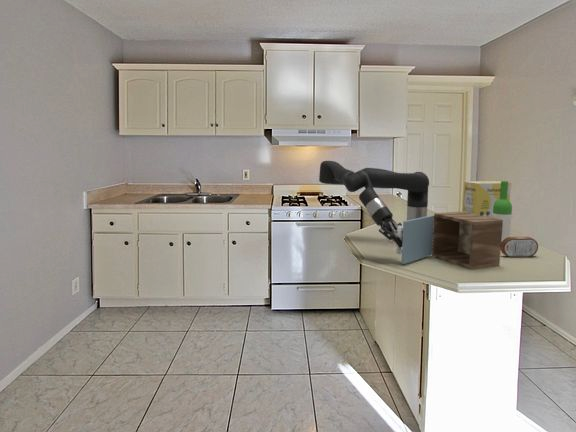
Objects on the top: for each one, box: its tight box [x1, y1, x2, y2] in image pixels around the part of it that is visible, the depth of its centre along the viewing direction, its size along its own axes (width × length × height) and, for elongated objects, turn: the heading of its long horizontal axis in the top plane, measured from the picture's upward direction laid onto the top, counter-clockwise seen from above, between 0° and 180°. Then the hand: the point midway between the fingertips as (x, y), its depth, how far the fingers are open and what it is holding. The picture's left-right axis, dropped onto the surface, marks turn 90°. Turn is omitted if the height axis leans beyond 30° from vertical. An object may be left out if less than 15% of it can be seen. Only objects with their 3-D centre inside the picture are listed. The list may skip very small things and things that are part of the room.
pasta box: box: [461, 180, 512, 218], centre depth 222 cm, size 18×10×28 cm, turn 103°
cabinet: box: [431, 211, 503, 270], centre depth 181 cm, size 22×14×18 cm, turn 23°
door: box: [396, 214, 434, 265], centre depth 182 cm, size 21×6×16 cm, turn 134°
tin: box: [500, 236, 539, 258], centre depth 189 cm, size 15×3×8 cm, turn 92°
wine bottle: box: [492, 180, 513, 243], centre depth 205 cm, size 8×8×30 cm
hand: (403, 245), depth 177 cm, fingers closed on door, 2 cm apart
